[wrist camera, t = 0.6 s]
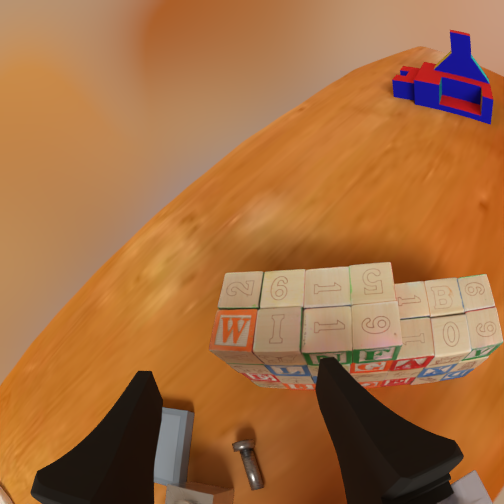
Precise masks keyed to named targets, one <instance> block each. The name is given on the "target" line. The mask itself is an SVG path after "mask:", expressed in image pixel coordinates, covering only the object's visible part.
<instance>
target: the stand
mask: <svg viewBox="0 0 504 504" xmlns="http://www.w3.org/2000/svg"><path fill="white" fill-rule="evenodd" d="M193 420H194V413H193V412H190V411H185V410H178V409H171V408H164V407H162V422H161V427H160V433H159V439H158V445H157V451H156V457H155V465H154V482H156V483H159V484H162V485H166V486H167V484H173V483H184V482H186V480H187V471H188V462H189V453H190V445H191V436H192V428H193Z"/></svg>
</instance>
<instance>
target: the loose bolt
mask: <svg viewBox="0 0 504 504" xmlns="http://www.w3.org/2000/svg"><path fill="white" fill-rule="evenodd" d="M232 446H233V449H234V452H237V451H240V454H241V457H242V461H243V464H244V467H245V471H246V474H247V477H248V480H249V484H250V487H251V490H257V489H261V488H264V485H263V482H262V479H261V476H260V473H259V469H258V466H257V463H256V460H255V456H254V453H253V450H252V448H254V447H255V446H254V442H253V440H252V439H250V440H244V441H240V442H236V443H233V444H232Z"/></svg>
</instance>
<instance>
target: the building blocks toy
mask: <svg viewBox="0 0 504 504" xmlns="http://www.w3.org/2000/svg"><path fill="white" fill-rule="evenodd" d="M450 39H451V51H450V52H449V53H448V54H447V55H446V56H445V57H444V58H443V59H442V60H441V61H440V62H439V63H438V64H433V63H427V62H424V63H423V65H422V67H421V68H420V69H419V68H413V67H406V66H403V67H402V68H401V70H400V75H396V76H395V77H394V78H393V80H392V82H393V93H394V97H398V98H404V99H409V100H414V101H415V104H416V105H421V106H425V107H430V108H434V109H439V110H443V111H447V112H451V113H454V114H458V115H462V116H465V117H468V118H472V119H475V120H478V121H481V122H485V123H488V124H491V116H492V107H493V96H492V92H491V87H490V83H489V79H488V77H487V76H486V75H485V73H484V72H483V70H482V69H481V67H480V66H479V65H478V63H477V62H476V61H475V59H474V58H473V56H472V55H471V44H470V34H467V33H463V32H459V31H454V30H450ZM449 96H450V97H449ZM453 97H454V98H453Z"/></svg>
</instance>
